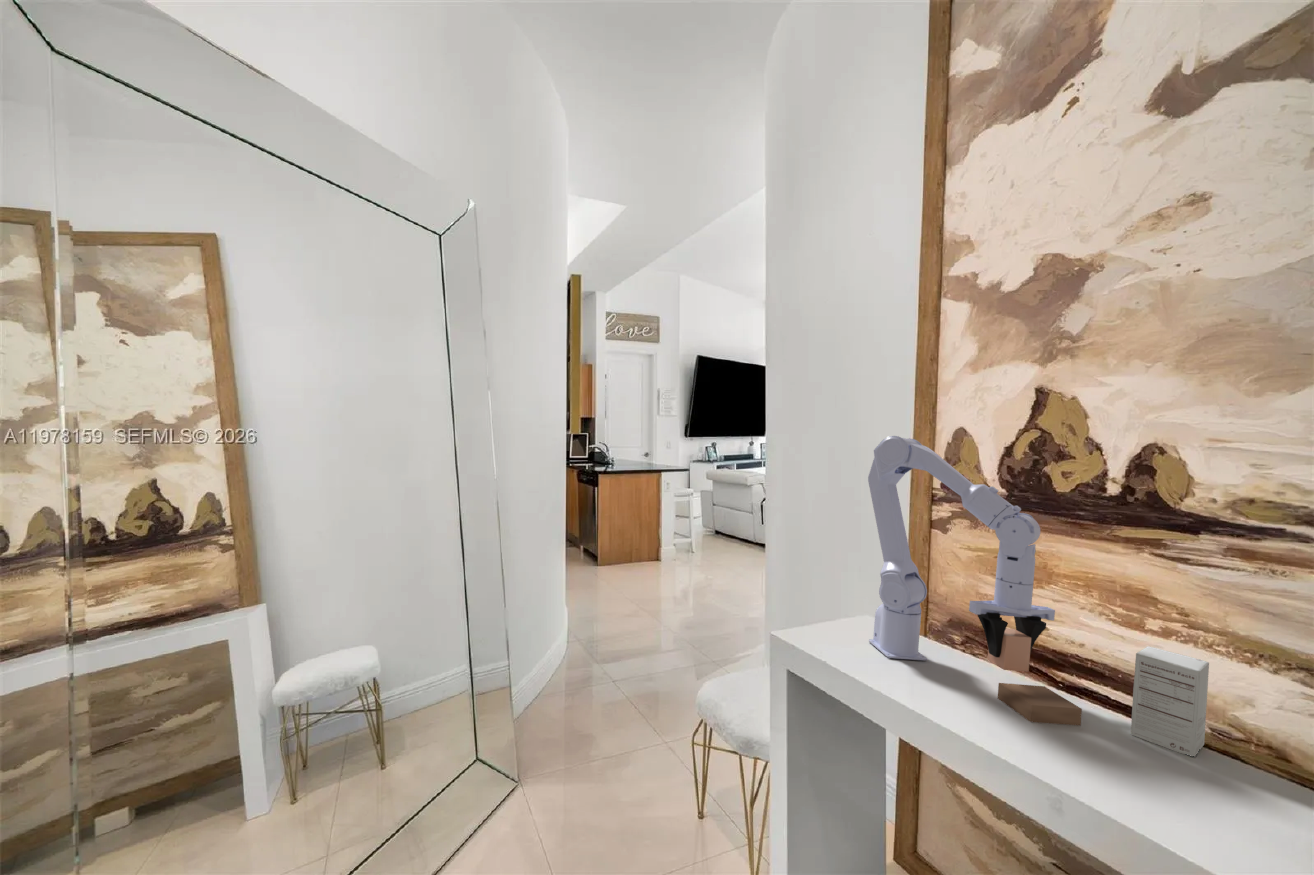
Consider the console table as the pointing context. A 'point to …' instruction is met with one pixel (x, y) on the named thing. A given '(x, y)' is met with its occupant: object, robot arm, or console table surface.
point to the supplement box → (1170, 700)
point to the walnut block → (1039, 704)
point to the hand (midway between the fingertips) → (1007, 656)
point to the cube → (1013, 651)
